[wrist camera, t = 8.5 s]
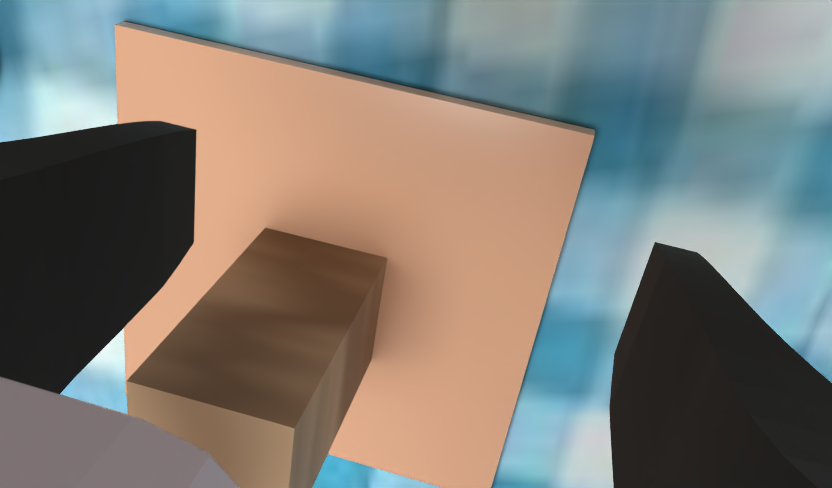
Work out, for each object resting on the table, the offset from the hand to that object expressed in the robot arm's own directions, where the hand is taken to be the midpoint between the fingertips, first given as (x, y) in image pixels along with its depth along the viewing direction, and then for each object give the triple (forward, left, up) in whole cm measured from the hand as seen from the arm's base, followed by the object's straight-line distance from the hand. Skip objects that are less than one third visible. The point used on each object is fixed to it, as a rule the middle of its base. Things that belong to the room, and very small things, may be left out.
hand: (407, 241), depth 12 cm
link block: (+4, +8, -10) cm, 14 cm away
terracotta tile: (+4, +8, -10) cm, 14 cm away
